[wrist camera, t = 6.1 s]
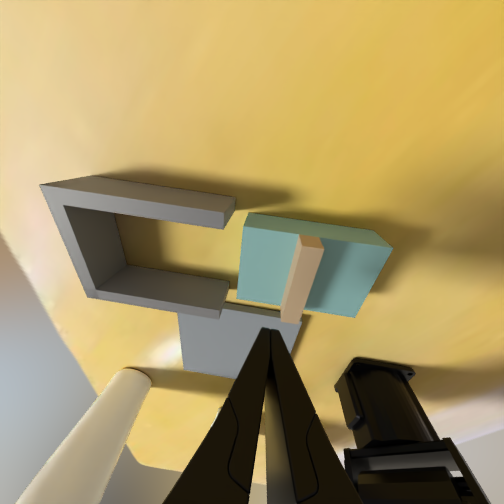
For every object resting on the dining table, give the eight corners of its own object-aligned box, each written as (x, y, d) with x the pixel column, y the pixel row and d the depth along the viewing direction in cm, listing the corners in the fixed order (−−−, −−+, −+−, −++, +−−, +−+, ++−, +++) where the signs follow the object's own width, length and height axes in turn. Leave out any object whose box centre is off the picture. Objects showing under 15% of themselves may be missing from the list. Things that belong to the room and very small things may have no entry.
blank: (371, 228, 14) (408, 261, 10) (342, 290, 17) (362, 335, 13) (249, 211, 14) (239, 236, 10) (242, 275, 17) (232, 313, 13)
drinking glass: (154, 367, 26) (36, 587, 13) (161, 392, 30) (71, 585, 17) (107, 359, 26) (-55, 567, 14) (119, 384, 30) (-1, 569, 17)
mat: (301, 315, 18) (302, 321, 18) (277, 379, 24) (277, 386, 24) (179, 294, 19) (176, 300, 18) (186, 363, 25) (183, 369, 24)
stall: (235, 197, 13) (224, 212, 10) (228, 289, 18) (219, 319, 15) (91, 175, 14) (39, 184, 11) (118, 271, 18) (87, 297, 15)
